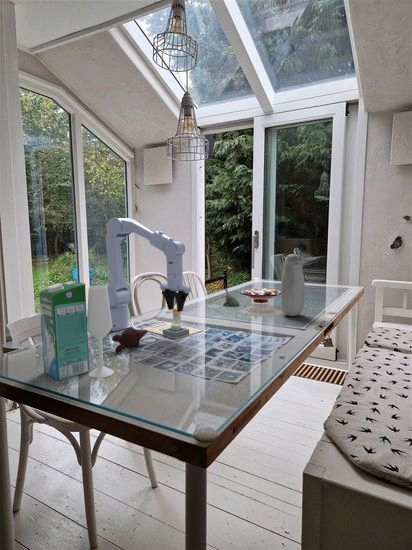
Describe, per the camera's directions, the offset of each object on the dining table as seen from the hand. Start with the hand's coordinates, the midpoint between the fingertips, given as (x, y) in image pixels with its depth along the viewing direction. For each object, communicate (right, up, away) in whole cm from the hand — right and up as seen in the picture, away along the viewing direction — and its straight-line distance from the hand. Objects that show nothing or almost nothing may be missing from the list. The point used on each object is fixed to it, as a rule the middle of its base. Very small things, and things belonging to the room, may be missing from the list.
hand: (175, 310), depth 140 cm
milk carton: (-27, -14, -35) cm, 47 cm away
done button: (0, -8, +1) cm, 8 cm away
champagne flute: (-18, -14, -36) cm, 43 cm away
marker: (0, -8, +11) cm, 13 cm away
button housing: (0, -9, +1) cm, 9 cm away
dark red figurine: (-14, -11, -13) cm, 22 cm away
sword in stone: (+25, -3, +56) cm, 62 cm away
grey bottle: (+50, -6, +31) cm, 60 cm away
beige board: (-2, -9, +8) cm, 12 cm away
